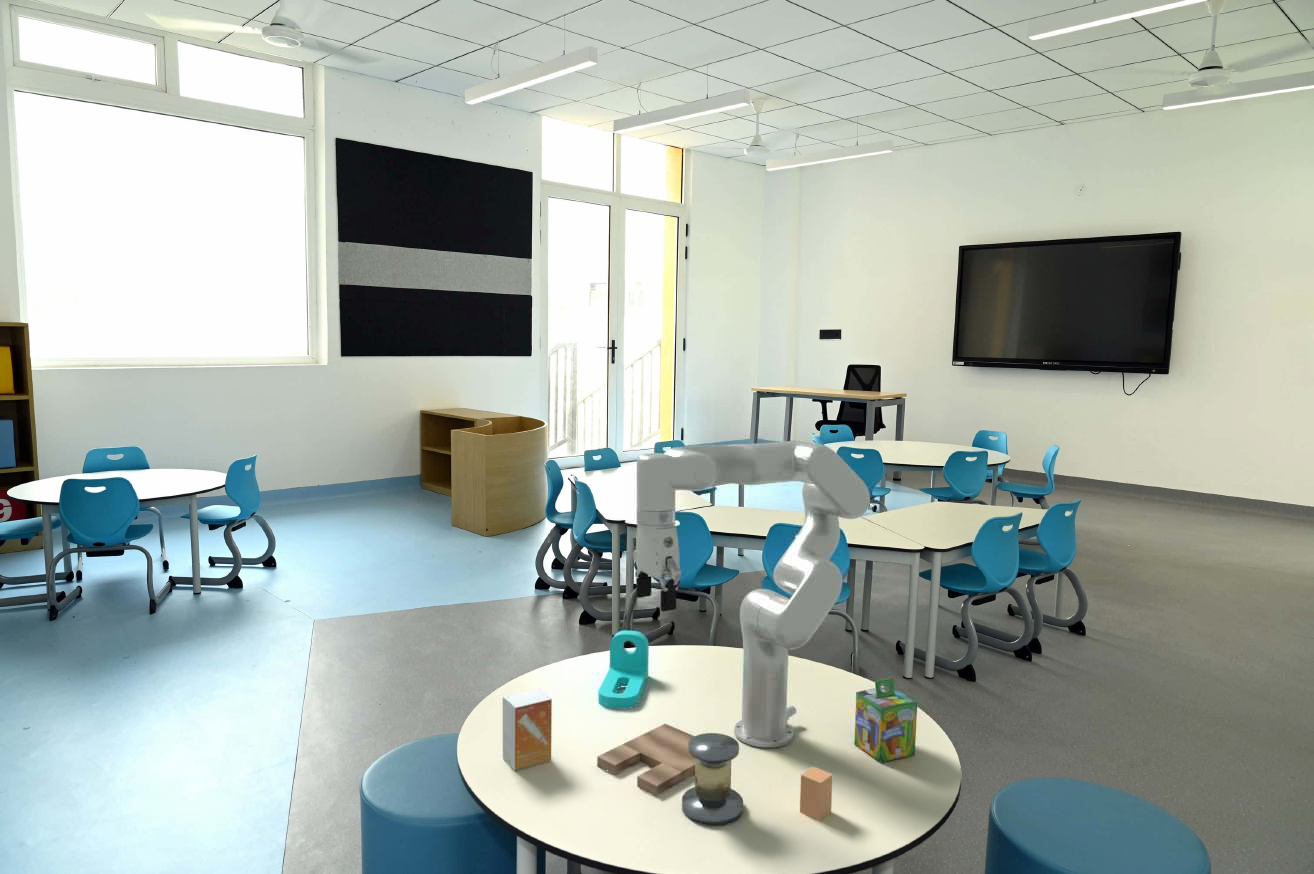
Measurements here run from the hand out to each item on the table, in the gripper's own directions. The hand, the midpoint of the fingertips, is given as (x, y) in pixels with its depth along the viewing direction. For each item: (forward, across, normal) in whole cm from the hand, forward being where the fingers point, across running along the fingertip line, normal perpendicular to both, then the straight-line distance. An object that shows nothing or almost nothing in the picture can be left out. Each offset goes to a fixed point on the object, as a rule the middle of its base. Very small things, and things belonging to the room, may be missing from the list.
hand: (655, 603), depth 160 cm
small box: (+33, +13, +22) cm, 42 cm away
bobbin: (+33, -20, -1) cm, 38 cm away
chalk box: (+33, -18, -44) cm, 58 cm away
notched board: (+33, -1, -1) cm, 33 cm away
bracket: (+33, +34, -10) cm, 49 cm away
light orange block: (+33, -29, -16) cm, 47 cm away
